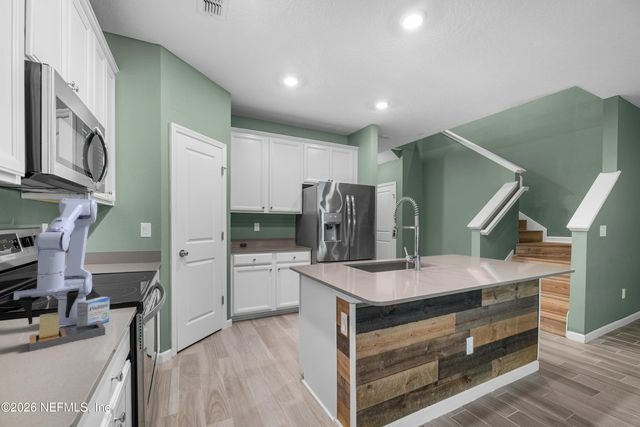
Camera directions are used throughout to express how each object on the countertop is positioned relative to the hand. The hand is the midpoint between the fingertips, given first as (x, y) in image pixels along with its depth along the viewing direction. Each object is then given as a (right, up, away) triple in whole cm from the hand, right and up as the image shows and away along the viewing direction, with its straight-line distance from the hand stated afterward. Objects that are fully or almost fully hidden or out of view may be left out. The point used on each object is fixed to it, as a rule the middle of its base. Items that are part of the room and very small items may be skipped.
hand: (49, 320), depth 82 cm
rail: (+3, -7, +3) cm, 8 cm away
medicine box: (+1, -8, +15) cm, 17 cm away
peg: (0, -7, 0) cm, 7 cm away
